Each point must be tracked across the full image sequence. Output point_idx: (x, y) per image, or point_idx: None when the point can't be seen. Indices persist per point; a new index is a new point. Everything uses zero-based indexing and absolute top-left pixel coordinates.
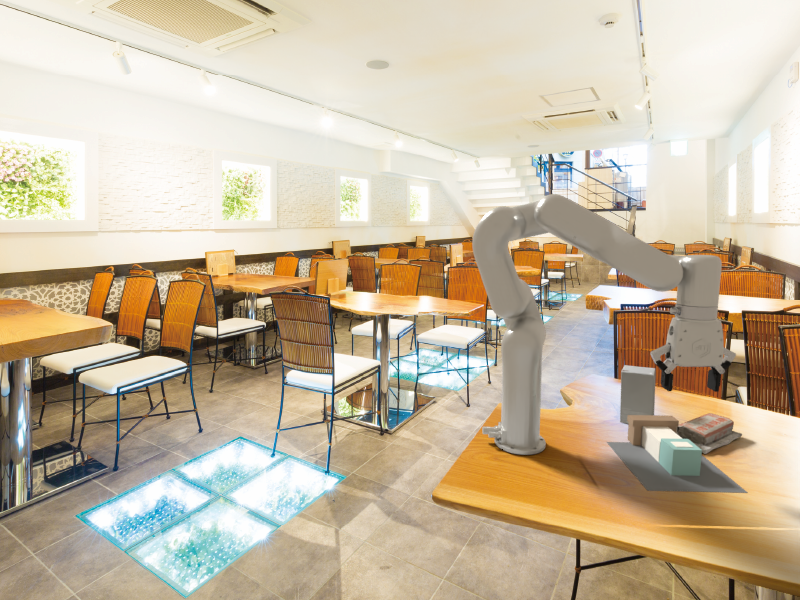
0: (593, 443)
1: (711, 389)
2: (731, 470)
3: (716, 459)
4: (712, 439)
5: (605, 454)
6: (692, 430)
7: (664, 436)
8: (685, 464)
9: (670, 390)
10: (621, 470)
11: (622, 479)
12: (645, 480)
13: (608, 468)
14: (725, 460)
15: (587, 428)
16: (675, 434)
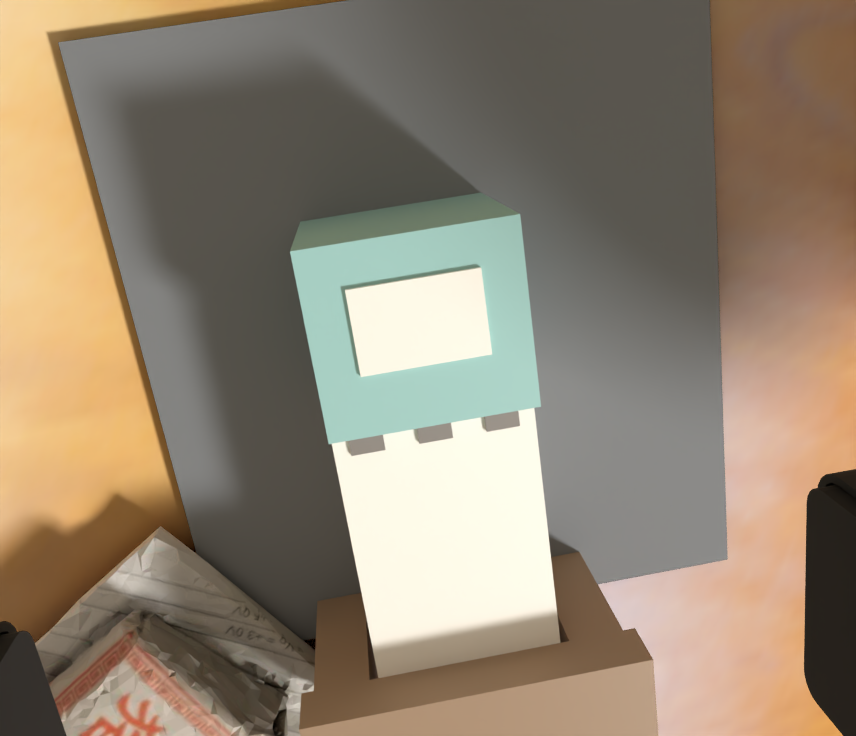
0: (799, 537)
1: (57, 714)
2: (58, 361)
3: (106, 492)
4: (68, 671)
5: (778, 409)
6: (198, 693)
7: (465, 506)
8: (402, 215)
9: (848, 475)
10: (756, 217)
11: (793, 97)
12: (672, 84)
13: (826, 227)
14: (51, 490)
15: (765, 722)
16: (369, 559)
